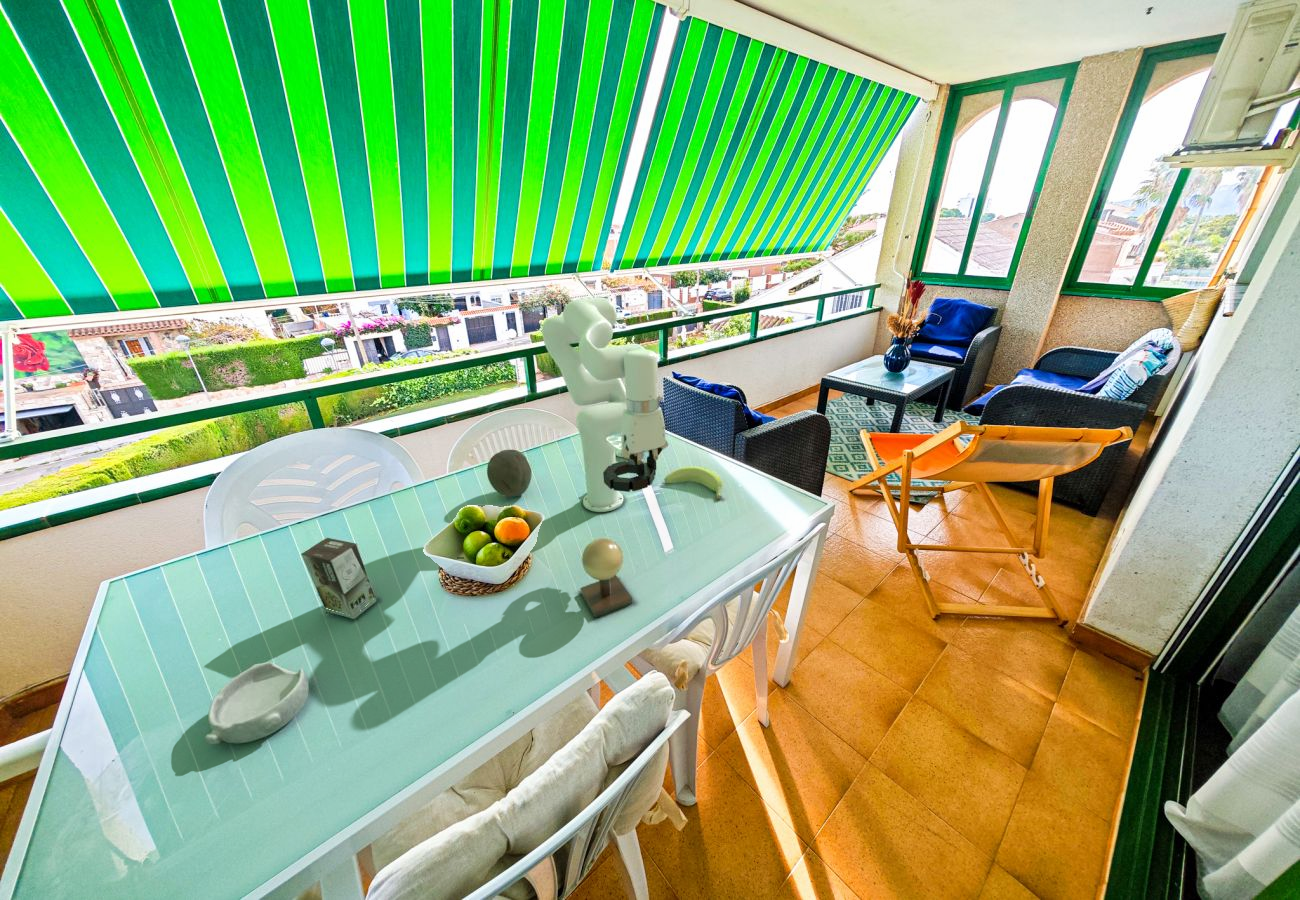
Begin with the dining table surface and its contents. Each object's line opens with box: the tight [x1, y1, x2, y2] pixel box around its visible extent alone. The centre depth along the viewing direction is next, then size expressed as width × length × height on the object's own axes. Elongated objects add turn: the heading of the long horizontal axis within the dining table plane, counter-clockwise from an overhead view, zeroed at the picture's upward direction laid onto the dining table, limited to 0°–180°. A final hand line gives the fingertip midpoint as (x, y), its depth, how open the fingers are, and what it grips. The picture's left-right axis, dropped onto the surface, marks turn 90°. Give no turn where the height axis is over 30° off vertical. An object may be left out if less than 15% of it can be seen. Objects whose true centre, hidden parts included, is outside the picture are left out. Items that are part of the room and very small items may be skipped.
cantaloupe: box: [486, 449, 533, 498], centre depth 147 cm, size 14×14×15 cm
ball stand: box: [579, 537, 633, 619], centre depth 102 cm, size 9×9×16 cm
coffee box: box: [300, 537, 377, 620], centre depth 102 cm, size 9×6×16 cm
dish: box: [205, 661, 310, 745], centre depth 80 cm, size 14×14×5 cm
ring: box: [603, 459, 656, 493], centre depth 111 cm, size 12×12×2 cm
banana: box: [663, 465, 723, 500], centre depth 149 cm, size 14×6×20 cm
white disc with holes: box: [606, 436, 630, 458], centre depth 179 cm, size 3×18×15 cm
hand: (646, 474), depth 114 cm, fingers closed on ring, 2 cm apart
